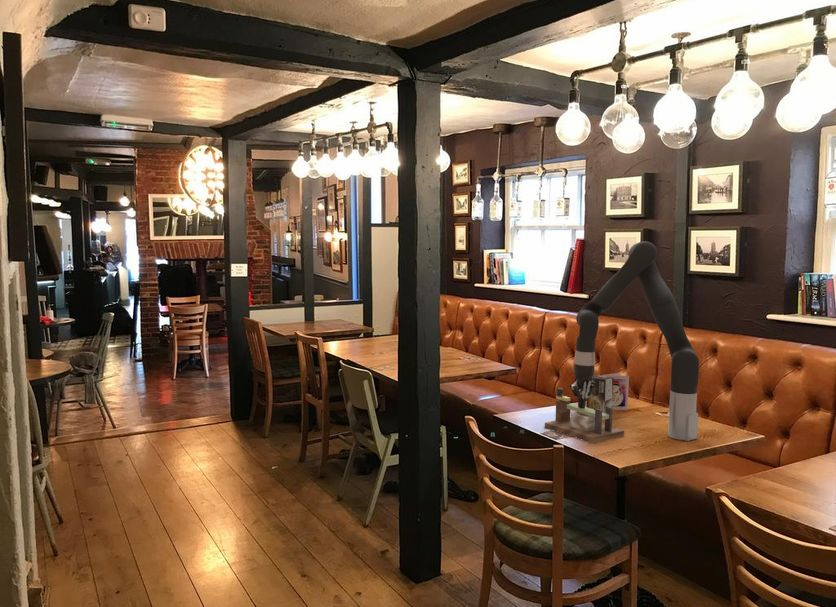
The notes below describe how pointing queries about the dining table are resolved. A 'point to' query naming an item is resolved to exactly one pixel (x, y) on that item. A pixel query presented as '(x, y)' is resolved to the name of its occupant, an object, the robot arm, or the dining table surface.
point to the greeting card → (620, 391)
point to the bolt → (561, 395)
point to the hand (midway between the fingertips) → (581, 407)
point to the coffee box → (601, 393)
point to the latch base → (576, 432)
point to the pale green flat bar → (586, 411)
